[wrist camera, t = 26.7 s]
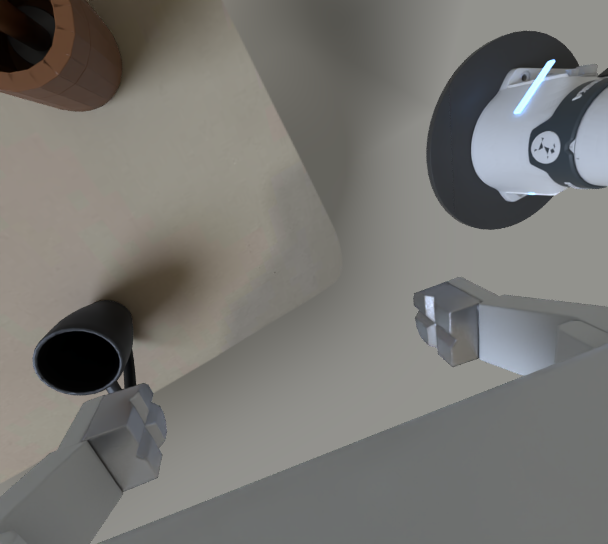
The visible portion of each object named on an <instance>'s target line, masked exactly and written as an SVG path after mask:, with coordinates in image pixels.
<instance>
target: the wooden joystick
mask: <svg viewBox="0 0 608 544" xmlns="http://www.w3.org/2000/svg"><path fill="white" fill-rule="evenodd" d="M55 27H56V26H55V18H54V17H53V16H52V15H51V14H50V13H48V12H47V11H45V10H43V9H41V8H39V7H35V6H29V5H25V6H20V7H17V8H16V7H15V6H14V5H12V4H11V3H9V2H8V1H7V0H0V31H2V32H4V33H5V34H6V35H7V38H8V41H9V43H10V45H11V47H12V48H13V49H14V51H15V52H16V53H17V54H18V55H19V56H20V57H21V58H22V59H23V60H25V61H26V62H28V63H30V64H32V65H36V64H37V63H39V62H40V61H42V60H43V59H44V57H45V56H46V54H47V53H48V51H49V50H50V48H51V47H52V44H53V38H54V33H55Z"/></svg>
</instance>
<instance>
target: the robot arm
mask: <svg viewBox="0 0 608 544" xmlns="http://www.w3.org/2000/svg"><path fill="white" fill-rule="evenodd" d="M554 63H555V60H551V61H548V62H547V63H546V65H545V66H544V68H515V69H512V70H510V71H509V72H508V74H507V75H506V77H505V79H504V81H503V83H502V85H501V88H500V90H499V92H498V93H497V94H496V95H495V97H494V98H493V99H492V100H491V101H490V102H489V103H488V104H487V106H486V107H485V108H484V110H483V111H482V113H481V115H480V117H479V119H478V121H477V123H476V126H475V129H474V132H473V136H472V143H471V157H472V163H473V166H474V169H475V171H476V173H477V175H478V177H479V178H480V179H481V180H482V181H483V182H484V183H485V184H487V185H488V186H490V187H492V188H495V189H496V190H498V191H499V193H500V194H501V196H502V197H503V198H504V199H505V200H506V201H510V202H514V201H517V200H519V199H520V198H522V197H524V196H526V195H528V194H529V195H549V196H552V195H557V194H558V193H559V192H561V191H564V190H565V189H567V188H568V187H572V188H576V189H599V188H605V187H607V186H608V68H607V69H606V70H605V71H603V72H602V73H601V74H600V75H599V76H598V74H597V64H590V65H583V66H579V67H576V69H552V68H551V67H552V66H553V64H554ZM522 77H523V79H522ZM413 299H414V306H415V307H416V308H418V309H419V311H418V313H417V315H416V317H415V320H416V326H417V329H418V332H419V334H420V336H421V337H422V339H423V340H424V341H425V342H426V343H427V344H428V345H429V346H432V347H436V348H437V349H438V355H440V356H441V357H442V358H443V359H444V360H445V361H446V362H447V363H448V364H449V365H451V366H452V367H455V366H457V365H461V364H463V363H466V362H470V361H472V360H475V359H478V358H479V359H480V360H482V361H485V362H488V363H490V364H493V365H496V366H498V367H501V368H504V369H506V370H509V371H512V372H515V373H517V374H520V375H523V377H520V378H517V379H515V380H512V381H510V382H507V383H505V384H502V385H500V386H497V387H495V388H492V389H490V390H487V391H484V392H482V393H479V394H477V395H474V396H472V397H469V398H467V399H464V400H462V401H459V402H456V403H454V404H451V405H449V406H446V407H443V408H441V409H438V410H436V411H433V412H431V413H428V414H426V415H423V416H421V417H418V418H415V419H413V420H410V421H408V422H405V423H403V424H400V425H398V426H395V427H392V428H390V429H387V430H385V431H382V432H380V433H377V434H375V435H372V436H370V437H367V438H365V439H362V440H359V441H358V442H354V443H352V444H349V445H347V446H344V447H342V448H339V449H337V450H334V451H332V452H329V453H326V454H324V455H322V456H319V457H317V458H314V459H311V460H309V461H306V462H304V463H301V464H299V465H296V466H294V467H291V468H289V469H286V470H283V471H281V472H278V473H276V474H273V475H271V476H268V477H266V478H263V479H261V480H258V481H255V482H253V483H250V484H248V485H245V486H243V487H240V488H238V489H235V490H233V491H230V492H228V493H225V494H223V495H220V496H217V497H215V498H212V499H210V500H207V501H205V502H202V503H199V504H197V505H195V506H192V507H190V508H187V509H184V510H182V511H179V512H177V513H174V514H172V515H169V516H166V517H164V518H161V519H159V520H156V521H154V522H151V523H149V524H146V525H144V526H141V527H138V528H136V529H133V530H131V531H128V532H126V533H123V534H120V535H118V536H116V537H113V538H110V539H108V540H105V541H103V542H100V543H98V544H608V307H605V306H596V305H588V304H580V303H571V302H563V301H554V300H545V299H537V298H529V297H520V296H511V295H501V296H498V295H496V294H494V293H492V292H490V291H488V290H486V289H484V288H482V287H480V286H478V285H476V284H474V283H472V282H470V281H468V280H466V279H464V278H461V277H457V278H454V279H452V280H449V281H446V282H444V283H441V284H439V285H436V286H433V287H430V288H428V289H425V290H422V291H419V292H416V293H414V298H413ZM152 397H153V392H152V390H151V389H150V387H149V385H147V384H145V383H142V384H138V385H135V386H132V387H129V388H126V389H122V390H119V391H116V392H113V393H110V394H107V395H103V396H100V397H97V398H94V399H91V400H88V401H87V402H85V403H83V405H82V406H81V408H80V410H79V412H78V414H77V415H76V417H75V419H74V421H73V423H72V424H71V426H70V428H69V430H68V431H67V433H66V435H65V437H64V439H63V440H62V442H61V444H60V446H59V448H58V449H57V451H54V452H52V453H49V454H48V455H47V456H46V457H45V458H44V459H43V460H41V461H40V462H39V463H38V464H37V465H36V466H35V467H34V468H32V469H31V470H30V471H29V472H28V473H27V474H26V475H24V477H22V478H21V479H20V480H19V481H18V482H16V483H15V484H14V485H13V486H12V487H11V488H10V489H9V490H7V491H6V492H5V493H4V494H3V495H2V496H1V497H0V544H90V543H91V541H92V540H93V538H94V536H95V535H96V534H97V532H98V531H99V529H100V528H101V526H102V525H103V523H104V522H105V520H106V519H107V517H108V516H109V514H110V513H111V511H112V510H113V508H114V507H115V506H116V504H117V502H118V501H119V500H120V498H121V497H122V495H123V492H124V491H127V490H129V489H132V488H134V487H136V486H139V485H142V484H144V483H146V482H149V481H151V480H154V479H156V478H158V475H159V470H160V465H161V460H162V453H161V451H160V450H159V448H160V446H161V445H162V444H163V443H164V441H165V439H166V433H167V429H166V420H165V417H164V413H163V411H162V409H161V407H160V406H159V405H157V404H155V403H152V402H151V401H152Z"/></svg>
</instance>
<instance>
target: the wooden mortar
mask: <svg viewBox="0 0 608 544" xmlns="http://www.w3.org/2000/svg"><path fill="white" fill-rule="evenodd" d="M7 1H8V2H9V3H11V4H12V5H14V6H15V7H16V8H17V7H20V6H25V5H29V6H35V7H39V8H41V9H43V10H45V11H47V12H48V13H50V14H51V15H52V16H53V17H54V18H55V26H56V27H55V33H54V38H53V44H52V47H51V48H50V50H49V51H48V53H47V54H46V56H45V57H44V59H43V60H42V61H40V62H39V63H37V64H36V65H32V64H30V63H28V62H26V61H25V60H23V59H22V58H21V57H20V56H19V55H18V54H17V53H16V52H15V51H14V49H13V48H12V47H11V45H10V43H9V41H8V38H7V35H6V34H5V33H4V32H2V31H0V92H2V93H6V94H9V95H13V96H16V97H19V98H23V99H27V100H30V101H34V102H37V103H41V104H44V105H48V106H51V107H55V108H58V109H62V110H68V111H90V110H93V109H96V108H99V107H101V106H103V105H104V104H105V103H107V102H108V101H109V100H110V99H111V98H112V97H113V96H114V94H115V93H116V91H117V89H118V87H119V84H120V81H121V75H122V62H121V56H120V52H119V49H118V46H117V43H116V41H115V39H114V37H113V35H112V33H111V32H110V30H109V29H108V27H107V26H106V25H105V23H104V22H103V21H102V19H101V18H100V17H99V16H98V14H97V13H96V12H95V11H94V10H93V9H92V8H91V6H90V5H89V4H88V3H87V2H86V1H85V0H7Z"/></svg>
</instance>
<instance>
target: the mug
mask: <svg viewBox="0 0 608 544" xmlns="http://www.w3.org/2000/svg"><path fill="white" fill-rule="evenodd" d="M132 345H133V324H132V316H131V313H130V312H129V310H128V309H127V308H126V307H125V306H123V305H122V304H120V303H118V302H115V301H109V300H104V301H99V302H96V303H94V304H91V305H89V306H86V307H83V308H81V309H79V310H77V311H75V312H74V313H72V314H70V315H68V316H67V317H65V318H64V319H62V320H61V321H60V322H59V323H58V324H57V325H55V326H54V327H53V328H52V329H51V330H50V331H49V332H48V333H47V334H46V335H45V336H44V338H43V339H42V340H41V341H40V342H39V343H38V345H37V346H36V348H35V350H34V354H33V367H34V369H35V372H36V374H37V375H38V377H39V378H40V379H41V381H43V382H44V383H45V384H46V385H47V386H49V387H51V388H52V389H54V390H56V391H59V392H62V393H65V394H70V395H90V394H95V393H98V392H101V391H103V390H105V389H106V390H107V392H108V393H109V394H110V393H113V392H116V391H119V390H122V389H121V387H120V385H119V384H118V382H117V380H118V379H119V377H120V376H121V374H122V372H123V371H124V389H126V388H129V387H132V386H135V385H136V377H135V366H134V358H133V351H132Z"/></svg>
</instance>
